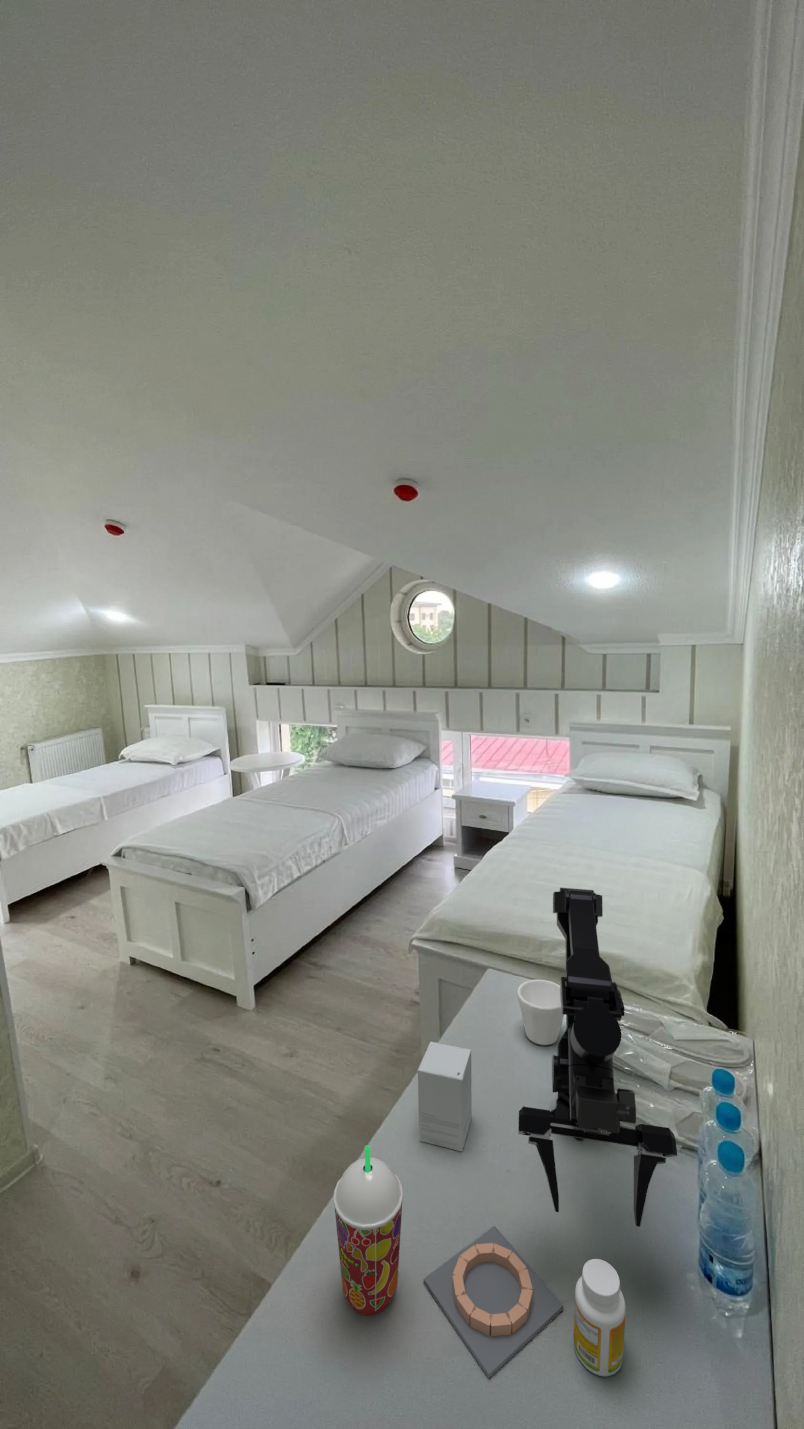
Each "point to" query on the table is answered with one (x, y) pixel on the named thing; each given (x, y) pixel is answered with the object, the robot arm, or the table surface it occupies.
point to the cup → (541, 1010)
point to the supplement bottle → (599, 1318)
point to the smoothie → (368, 1233)
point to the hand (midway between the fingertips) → (596, 1219)
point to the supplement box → (445, 1096)
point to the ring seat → (492, 1299)
